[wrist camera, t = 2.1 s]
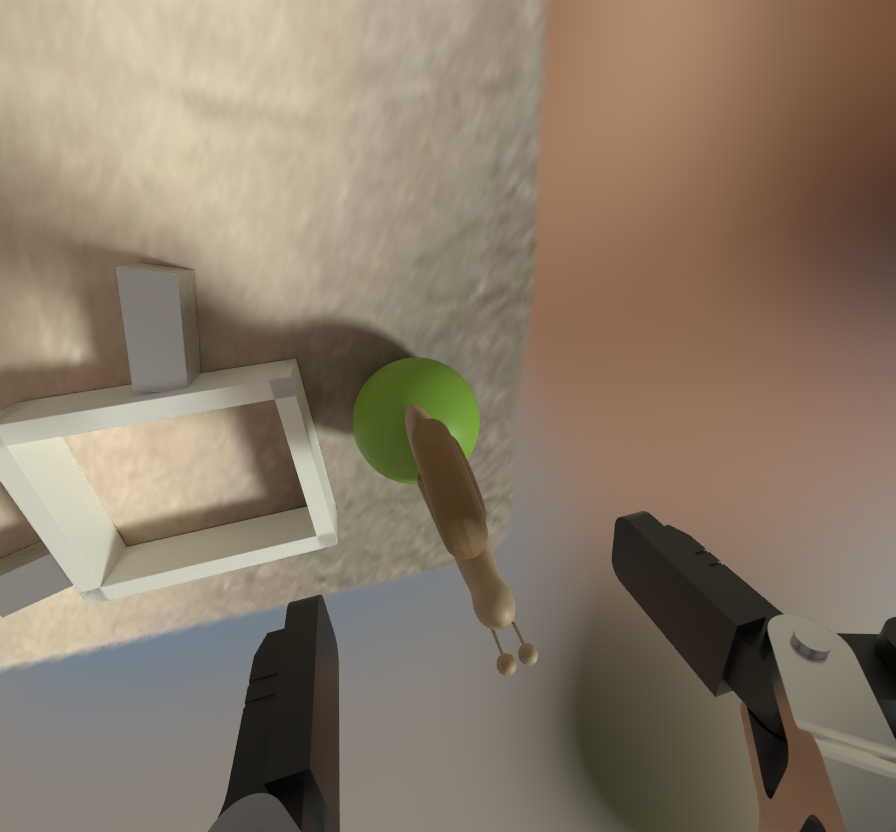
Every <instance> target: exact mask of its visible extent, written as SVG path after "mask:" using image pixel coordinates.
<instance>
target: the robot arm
mask: <svg viewBox="0 0 896 832" xmlns="http://www.w3.org/2000/svg"><path fill="white" fill-rule="evenodd" d="M612 565H613V568H614V571H615V574H616V575H617V578H618V579H619V581H620V582H621V583H622V584H623V586H624V587H625V588H626V589H627V591H628V592H629V593H630V594H631V595H632V597H633V598H634V599H635V600H636V601H637V603H638V604H639V605H640V606H641V607H642V609H643V610H644V611H645V612H646V614H647V615H648V616H649V617H650V618H651V619H652V621H653V622H654V623H655V624H656V625H657V627H658V628H659V629H660V630H661V632H662V633H663V634H664V635H665V637H666V638H667V639H668V640H669V641H670V643H671V644H672V645H673V646H674V647H675V649H676V650H677V651H678V652H679V653H680V655H681V656H682V657H683V658H684V659H685V661H686V662H687V663H688V664H689V665H690V667H691V668H692V669H693V670H694V672H695V673H696V674H697V675H698V677H699V678H700V679H701V680H702V681H703V683H704V684H705V685H706V686H707V687H708V689H709V690H710V691H711V692H712V693H713V695H714V696H715V697H717V696H720V695H722V694H725V693H727V692H730V691H734V692H735V693H736V694H737V695H738V697H739V698H740V699H741V703H740V712H741V717H742V722H743V727H744V732H745V737H746V742H747V748H748V752H749V758H750V762H751V767H752V773H753V778H754V783H755V787H756V793H757V798H758V805H759V827H758V832H896V617H893V618H890V619H888V620H887V621H886V622H885V624H884V626H883V628H882V630H881V632H880V634H840V633H835V632H834V631H832V630H831V629H829V628H828V627H826V626H824V625H822V624H820V623H818V622H816V621H814V620H812V619H809V618H806V617H802V616H799V615H793V614H783V613H782V612H780V611H779V610H778V609H776V608H775V607H774V606H773V605H772V604H771V603H769V602H768V601H767V600H766V599H765V598H763V597H762V596H761V595H760V594H759V593H757V592H756V591H755V590H754V589H753V588H751V587H750V586H749V585H748V584H747V583H746V582H744V581H743V580H742V579H741V578H740V577H738V576H737V575H736V574H735V573H734V572H732V571H731V570H730V569H729V568H728V567H726V566H725V565H722V564H721V562H720V561H719V560H718V559H717V558H716V557H715V556H713V555H712V554H711V553H710V552H709V553H708V552H707V551H706V549H705V548H704V547H703V546H702V545H700V544H699V543H698V542H697V541H696V540H694V539H693V538H692V537H691V536H690V535H688V534H686V533H684V532H682V531H680V530H678V529H676V528H674V527H672V526H670V525H666V526H663V525H662V524H661V523H660V522H659V521H658V520H657V519H655V518H654V517H653V516H652V515H651V514H650V513H647V512H645V511H642V512H638V513H634V514H630V515H626V516H623V517H619V518H618V519H617V520H616V522H615V530H614V540H613V550H612ZM339 817H340V814H339V659H338V649H337V643H336V638H335V634H334V631H333V627H332V624H331V621H330V618H329V615H328V612H327V608H326V605H325V602H324V599H323V597H322V595H317V596H313V597H309V598H305V599H302V600H298V601H294V602H290V603H289V604H288V607H287V614H286V620H285V628H284V629H281V630H277V631H274V632H270V633H267V635H266V637H265V638H264V640H263V642H262V644H261V645H260V647H259V649H258V651H257V652H256V654H255V656H254V659H253V664H252V669H251V674H250V679H249V686H248V689H247V695H246V699H245V708H244V710H243V715H242V720H241V725H240V730H239V735H238V740H237V745H236V750H235V755H234V760H233V766H232V770H231V775H230V780H229V786H228V791H227V795H226V798H225V802H224V805H223V807H222V810H221V812H220V815H219V816H218V819H217V820H216V821H215V822H214V824H213V825H212V827H211V828H210V830H209V831H208V832H340V829H339V828H340V823H339V822H340V819H339Z"/></svg>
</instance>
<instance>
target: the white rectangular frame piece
mask: <svg viewBox="0 0 896 832" xmlns="http://www.w3.org/2000/svg"><path fill="white" fill-rule="evenodd" d="M115 269H116V276H117V283H118V290H119V297H120V304H121V311H122V318H123V325H124V332H125V339H126V346H127V353H128V360H129V367H130V374H131V381H132V384H130V385H124V386H118V387H111V388H105V389H99V390H92V391H86V392H80V393H73V394H67V395H61V396H54V397H48V398H42V399H35V400H29V401H23V402H16V403H14V404H12V405H11V406H9V407H7V408H5V409H3V410H2V411H0V481H1V483H2V484H3V486H4V487H5V488H6V490H7V491H8V493H9V494H10V495H11V497H12V498H13V500H14V501H15V503H16V504H17V505H18V507H19V508H20V510H21V511H22V512H23V514H24V515H25V517H26V518H27V520H28V521H29V522H30V524H31V525H32V527H33V528H34V530H35V531H36V532H37V534H38V535H39V537H40V538H41V539H42V540H41V541H39V542H37V543H35V544H32V545H30V546H28V547H26V548H24V549H21V550H19V551H17V552H15V553H12V554H10V555H8V556H6V557H3V558H1V559H0V616H2V617H5V616H7V615H9V614H11V613H13V612H16V611H18V610H20V609H22V608H24V607H27V606H29V605H31V604H33V603H35V602H38V601H40V600H42V599H44V598H46V597H48V596H51V595H53V594H55V593H57V592H59V591H62V590H64V589H66V588H68V587H70V586H73V585H74V586H75V588H76V589H77V591H78V592H79V593H80V595H81V596H82V598H83V599H84V601H85V602H86V603H87V605H88V606H89V605H93V604H97V603H101V602H105V601H109V600H113V599H117V598H121V597H126V596H130V595H134V594H138V593H142V592H146V591H150V590H154V589H158V588H162V587H166V586H171V585H175V584H179V583H183V582H187V581H191V580H195V579H199V578H203V577H207V576H211V575H216V574H220V573H224V572H228V571H232V570H236V569H240V568H244V567H248V566H252V565H256V564H261V563H265V562H269V561H273V560H277V559H281V558H285V557H289V556H293V555H297V554H301V553H306V552H310V551H314V550H318V549H322V548H326V547H330V546H334V545H338V531H337V510H336V506H335V502H334V498H333V495H332V491H331V487H330V483H329V480H328V476H327V472H326V469H325V465H324V461H323V457H322V454H321V450H320V446H319V443H318V439H317V435H316V431H315V428H314V424H313V420H312V417H311V413H310V409H309V405H308V402H307V398H306V394H305V391H304V387H303V383H302V379H301V376H300V372H299V368H298V365H297V361H296V358H295V359H289V360H282V361H276V362H270V363H263V364H257V365H251V366H244V367H238V368H232V369H225V370H219V371H213V372H206V373H201V365H200V351H199V337H198V324H197V310H196V296H195V282H194V270H190V269H183V268H175V267H168V266H160V265H153V264H146V263H133V264H127V265H121V266H116V267H115ZM274 399H275V402H276V405H277V409H278V412H279V415H280V418H281V422H282V425H283V428H284V431H285V435H286V438H287V441H288V444H289V448H290V451H291V454H292V457H293V461H294V464H295V467H296V470H297V474H298V477H299V480H300V483H301V487H302V490H303V493H304V496H305V500H306V503H307V507H302V508H298V509H294V510H289V511H285V512H280V513H276V514H271V515H267V516H262V517H258V518H253V519H249V520H244V521H240V522H236V523H231V524H227V525H222V526H218V527H213V528H209V529H204V530H200V531H195V532H191V533H187V534H182V535H178V536H173V537H169V538H164V539H160V540H155V541H151V542H146V543H142V544H137V545H133V546H129V547H126V545H125V543H124V542H123V540H122V538H121V536H120V535H119V533H118V531H117V530H116V528H115V526H114V525H113V523H112V521H111V519H110V518H109V516H108V514H107V513H106V511H105V509H104V508H103V506H102V504H101V502H100V501H99V499H98V497H97V496H96V494H95V492H94V491H93V489H92V487H91V485H90V484H89V482H88V480H87V479H86V477H85V475H84V474H83V472H82V470H81V468H80V467H79V465H78V463H77V462H76V460H75V458H74V457H73V455H72V453H71V451H70V450H69V448H68V446H67V445H66V443H65V441H64V440H63V438H62V436H68V435H73V434H79V433H85V432H91V431H96V430H102V429H108V428H113V427H119V426H125V425H131V424H136V423H142V422H148V421H154V420H159V419H165V418H171V417H177V416H182V415H188V414H194V413H199V412H205V411H211V410H217V409H222V408H228V407H234V406H240V405H245V404H251V403H257V402H263V401H268V400H274Z"/></svg>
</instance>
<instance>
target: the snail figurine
mask: <svg viewBox="0 0 896 832" xmlns="http://www.w3.org/2000/svg"><path fill="white" fill-rule="evenodd" d="M479 428H480V414H479V408H478V404H477V401H476V398H475V395H474V393H473V391H472V389H471V388H470V386H469V385H468V383H467V382H466V381H465V380H464V378H463V377H462V376H461V375H460V374H458V373H457V372H456V371H455V370H453V369H452V368H450V367H449V366H447V365H445V364H443V363H441V362H438V361H435V360H432V359H427V358H405V359H401V360H397V361H394V362H392V363H389V364H387V365H386V366H384V367H382V368H381V369H379V370H378V371H377V372H375V373H374V374H373V375H372V376H371V377H370V378H369V379H368V380H367V382H366V383H365V384H364V386H363V387H362V389H361V390H360V392H359V394H358V397H357V399H356V402H355V406H354V411H353V431H354V436H355V440H356V443H357V445H358V448H359V450H360V452H361V453H362V455H363V457H364V458H365V459H366V461H367V462H368V463H369V464H370V465H371V466H372V467H373V468H374V469H375V470H376V471H378V472H379V473H380V474H382V475H384V476H385V477H387V478H389V479H392V480H394V481H397V482H401V483H405V484H418V486H419V488H420V491H421V493H422V495H423V497H424V500H425V502H426V504H427V506H428V509H429V511H430V513H431V515H432V518H433V520H434V522H435V525H436V527H437V529H438V531H439V534H440V536H441V538H442V541H443V543H444V545H445V547H446V549H447V550H448V552H449V553H450V554H452V555H453V556H454V557H455V560H456V563H457V565H458V567H459V570H460V572H461V574H462V576H463V578H464V580H465V582H466V584H467V586H468V588H469V590H470V592H471V595H472V601H473V607H474V611H475V614H476V615H477V617H478V619H479V620H480V622H481V623H482V624H484V625H485V626H486V627H488V628H490V630H491V631H492V633H493V636H494V638H495V640H496V643H497V646H498V648H499V651H500V654H501V655H500V656H499V657H498V659H497V669H498V670H499V672H500V673H501V674H502V675H504V676H509V675H512V674H513V673H514V672H515V670H516V661H515V659H514V657H512V655H510V654H508V653H503V651H502V648H501V646H500V643H499V641H498V638H497V635H496V632H495V631H496V630H502V629H505V628H506V627H508V626H509V625H510V624H511V623H512V624H513V626H514V628H515V630H516V632H517V634H518V636H519V639H520V641H521V643H522V645H521V646H520V648H519V651H518V656H519V659H520V661H521V662H522V663H523V664H525V665H533V664H534V663H535V662H536V661H537V658H538V652H537V650H536V648H535V647H534V646H533V645H532V644H530V643H524V641H523V639H522V636H521V634H520V632H519V630H518V628H517V625H516V623H515V620H514V615H515V601H514V598H513V595H512V593H511V591H510V590H509V588H508V587H507V586H506V585H505V583H504V582H503V581H502V578H501V576H500V574H499V571H498V568H497V565H496V562H495V559H494V556H493V554H492V551H491V549H490V547H489V544H488V542H487V539H488V530H487V525H486V522H485V521H486V510H485V506H484V502H483V499H482V496H481V493H480V490H479V488H478V485H477V482H476V480H475V477H474V475H473V472H472V470H471V468H470V465H469V463H468V461H467V459H468V457H469V456H470V454H471V452H472V451H473V449H474V446H475V444H476V441H477V438H478V434H479Z"/></svg>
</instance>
